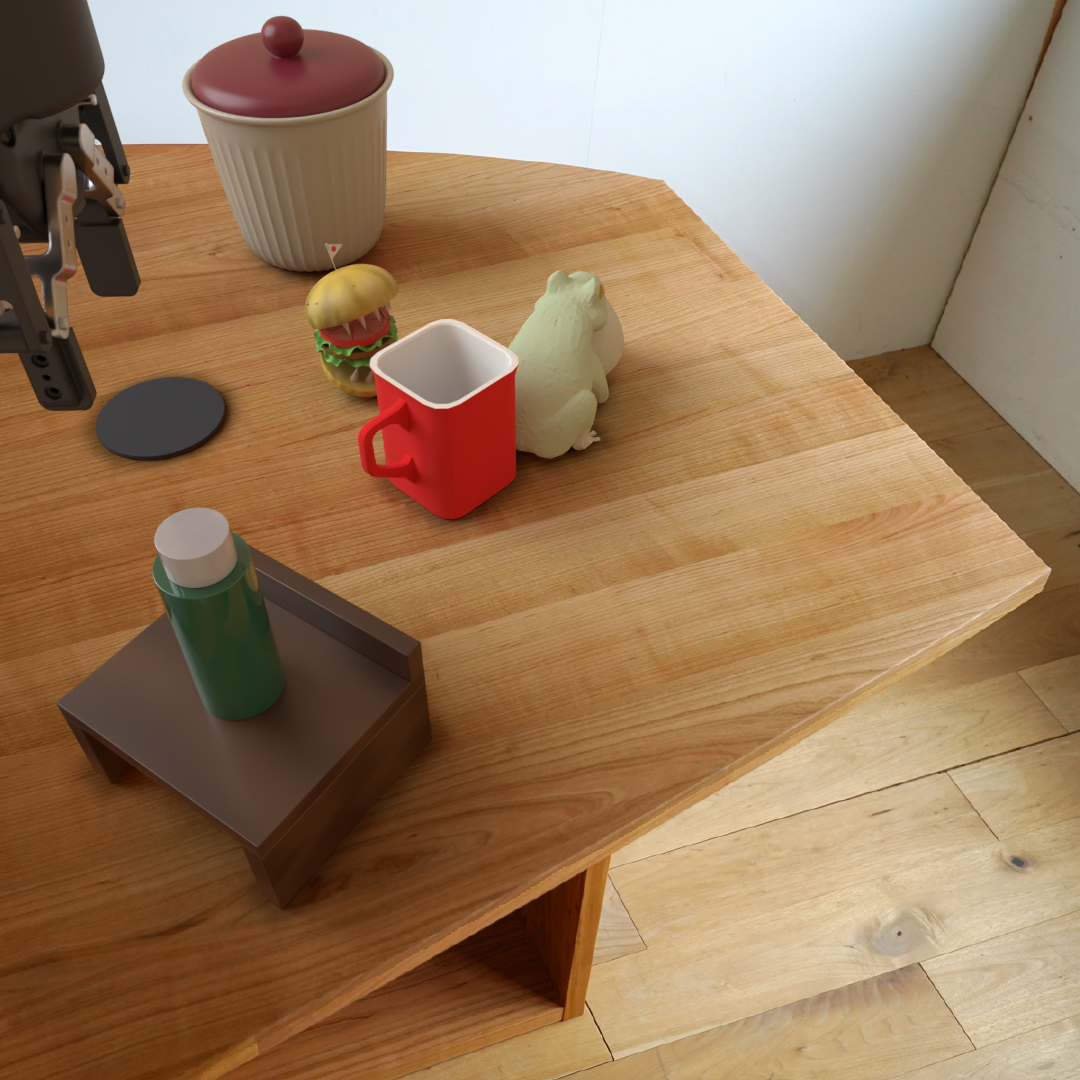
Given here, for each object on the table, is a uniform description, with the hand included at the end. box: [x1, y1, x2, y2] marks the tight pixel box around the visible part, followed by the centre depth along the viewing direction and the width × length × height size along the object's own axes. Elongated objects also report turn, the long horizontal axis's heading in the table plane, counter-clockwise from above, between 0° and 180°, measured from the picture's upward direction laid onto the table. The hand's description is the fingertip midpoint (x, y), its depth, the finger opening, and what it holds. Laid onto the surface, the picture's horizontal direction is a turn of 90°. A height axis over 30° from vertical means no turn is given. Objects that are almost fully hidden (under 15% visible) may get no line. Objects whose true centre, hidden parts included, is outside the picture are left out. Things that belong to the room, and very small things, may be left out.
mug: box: [357, 318, 519, 520], centre depth 74 cm, size 12×8×11 cm
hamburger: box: [304, 243, 400, 398], centre depth 83 cm, size 8×7×12 cm
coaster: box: [95, 376, 226, 461], centre depth 83 cm, size 10×10×1 cm
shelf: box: [56, 544, 433, 910], centre depth 58 cm, size 13×15×9 cm
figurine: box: [507, 269, 625, 460], centre depth 82 cm, size 10×16×10 cm, turn 157°
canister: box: [181, 15, 395, 273], centre depth 94 cm, size 18×18×21 cm
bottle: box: [151, 507, 285, 720], centre depth 52 cm, size 5×5×12 cm
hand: (96, 345), depth 47 cm, fingers open, 8 cm apart
